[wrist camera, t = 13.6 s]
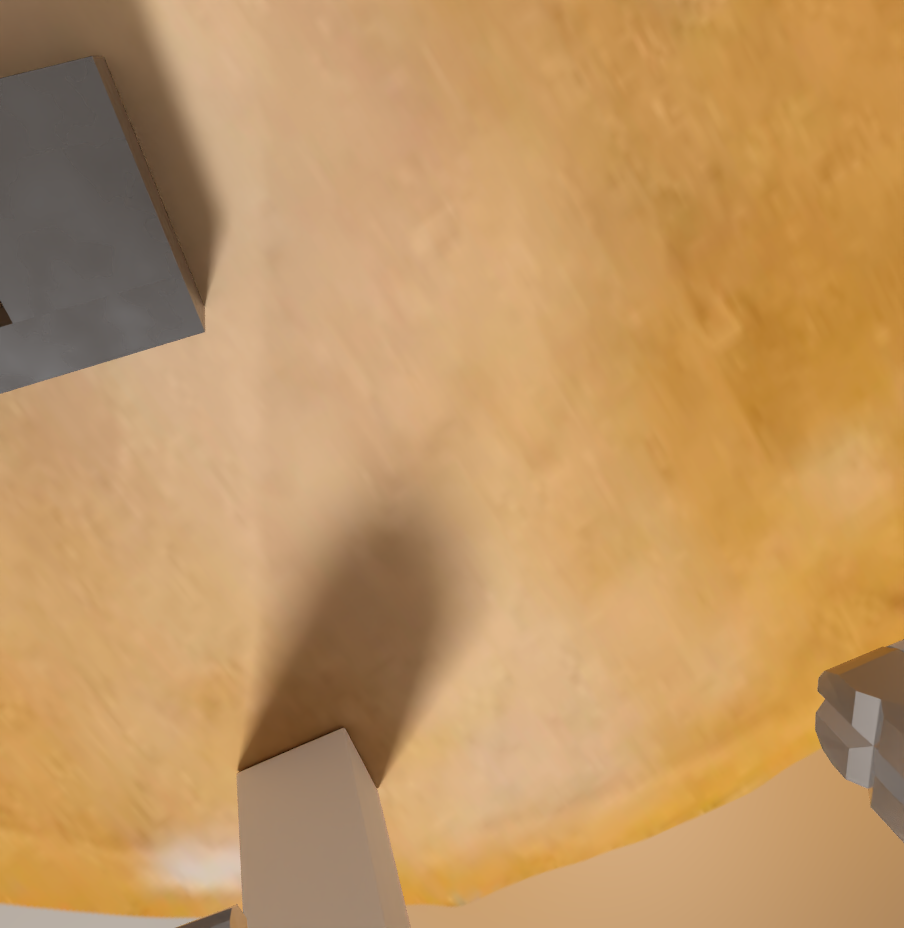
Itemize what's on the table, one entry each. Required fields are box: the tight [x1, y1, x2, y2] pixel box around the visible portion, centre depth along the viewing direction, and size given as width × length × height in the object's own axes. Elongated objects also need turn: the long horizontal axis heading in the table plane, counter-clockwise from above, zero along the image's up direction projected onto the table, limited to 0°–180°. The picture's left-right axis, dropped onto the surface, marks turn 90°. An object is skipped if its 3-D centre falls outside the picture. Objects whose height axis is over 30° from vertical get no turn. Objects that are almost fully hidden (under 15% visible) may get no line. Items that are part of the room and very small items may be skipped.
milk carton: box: [237, 728, 411, 928], centre depth 40 cm, size 7×7×19 cm
